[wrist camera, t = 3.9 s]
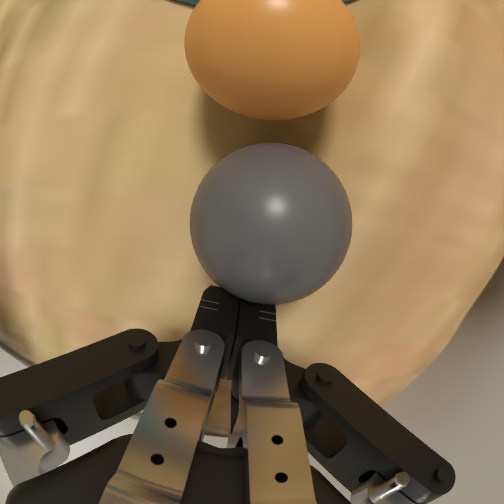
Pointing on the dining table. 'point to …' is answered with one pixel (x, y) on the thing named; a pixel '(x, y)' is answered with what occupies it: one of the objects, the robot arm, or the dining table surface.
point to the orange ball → (272, 54)
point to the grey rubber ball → (271, 223)
